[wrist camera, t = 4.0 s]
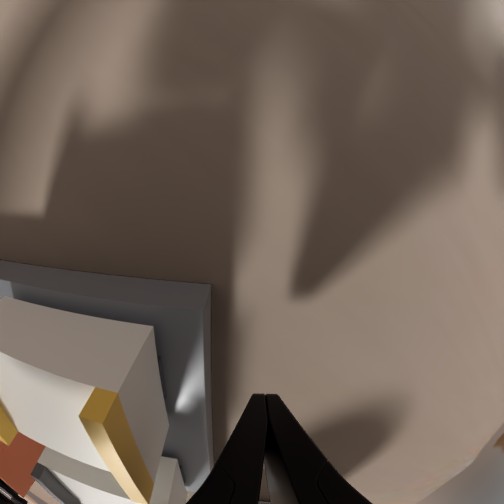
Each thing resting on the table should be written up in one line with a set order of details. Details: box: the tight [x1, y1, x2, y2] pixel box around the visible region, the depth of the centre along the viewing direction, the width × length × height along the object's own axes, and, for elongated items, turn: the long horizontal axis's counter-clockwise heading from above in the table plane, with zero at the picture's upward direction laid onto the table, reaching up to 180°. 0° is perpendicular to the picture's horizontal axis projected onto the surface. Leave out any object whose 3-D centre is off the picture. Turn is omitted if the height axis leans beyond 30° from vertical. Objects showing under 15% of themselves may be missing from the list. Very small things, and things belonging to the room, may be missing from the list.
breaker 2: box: [30, 447, 187, 504], centre depth 9 cm, size 7×5×4 cm
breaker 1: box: [0, 296, 169, 504], centre depth 7 cm, size 7×5×4 cm
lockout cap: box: [0, 432, 46, 498], centre depth 8 cm, size 4×4×6 cm
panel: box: [0, 260, 214, 492], centre depth 11 cm, size 18×14×2 cm
